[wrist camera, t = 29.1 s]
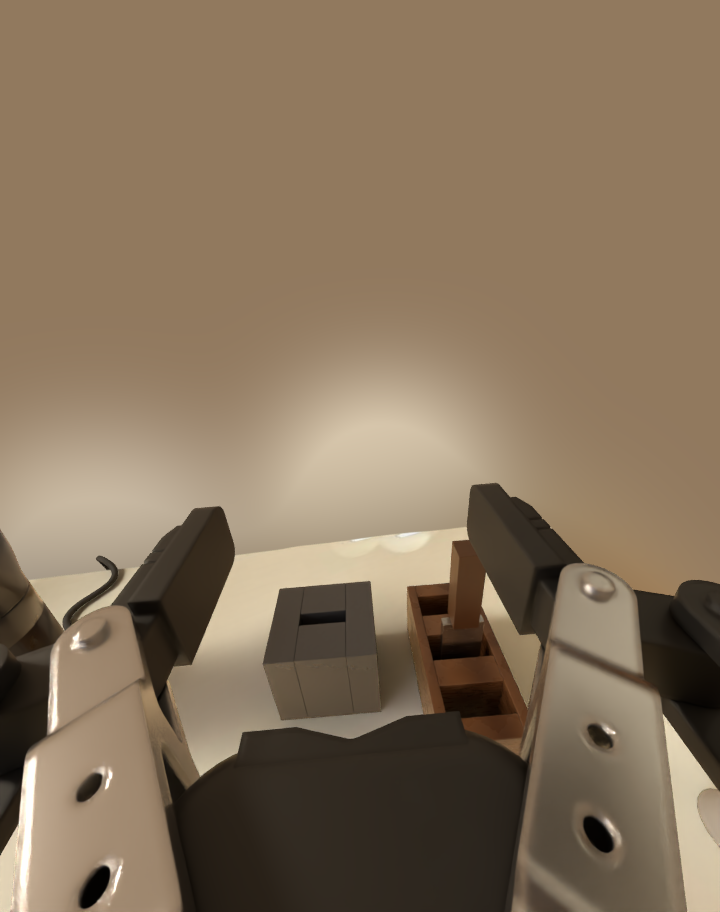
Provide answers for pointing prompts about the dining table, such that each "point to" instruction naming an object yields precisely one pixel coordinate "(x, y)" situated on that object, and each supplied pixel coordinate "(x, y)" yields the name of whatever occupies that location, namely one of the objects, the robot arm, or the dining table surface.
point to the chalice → (710, 812)
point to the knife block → (323, 652)
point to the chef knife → (463, 605)
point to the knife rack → (463, 673)
